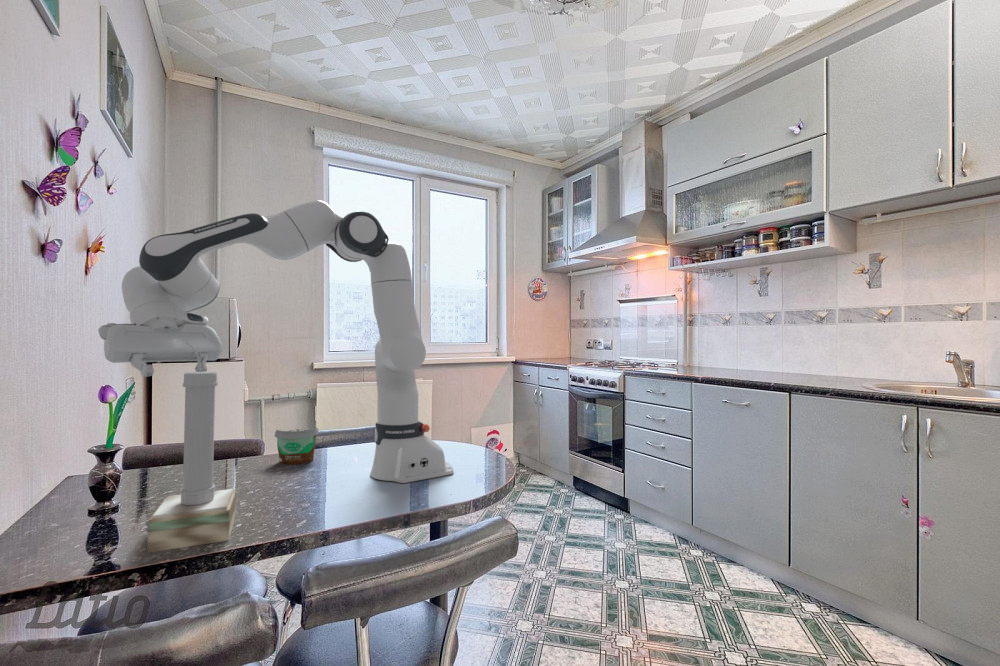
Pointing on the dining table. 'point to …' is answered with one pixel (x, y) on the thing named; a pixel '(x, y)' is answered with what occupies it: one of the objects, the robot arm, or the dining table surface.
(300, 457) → the food container
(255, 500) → the dining table surface
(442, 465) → the robot arm
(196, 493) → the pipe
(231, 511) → the stand
